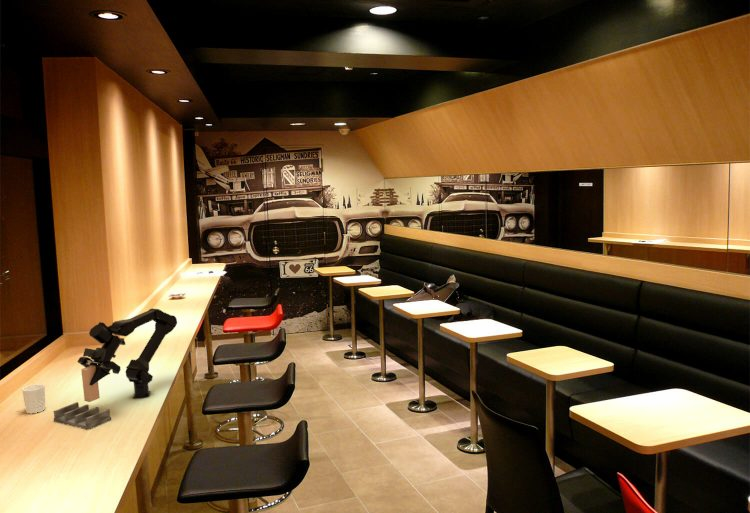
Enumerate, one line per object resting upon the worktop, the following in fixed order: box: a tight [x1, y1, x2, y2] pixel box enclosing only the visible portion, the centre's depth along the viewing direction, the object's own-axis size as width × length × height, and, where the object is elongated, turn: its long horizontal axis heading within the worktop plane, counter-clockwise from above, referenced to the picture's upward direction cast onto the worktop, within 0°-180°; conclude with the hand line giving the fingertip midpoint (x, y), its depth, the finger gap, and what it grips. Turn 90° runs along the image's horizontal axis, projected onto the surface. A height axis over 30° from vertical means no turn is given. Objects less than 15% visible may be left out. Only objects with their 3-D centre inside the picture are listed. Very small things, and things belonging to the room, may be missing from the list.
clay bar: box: [81, 366, 100, 403], centre depth 238 cm, size 4×3×13 cm, turn 153°
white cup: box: [21, 383, 46, 415], centre depth 246 cm, size 8×8×10 cm
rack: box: [53, 401, 112, 430], centre depth 235 cm, size 10×20×4 cm, turn 63°
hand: (87, 384), depth 237 cm, fingers closed on clay bar, 3 cm apart
